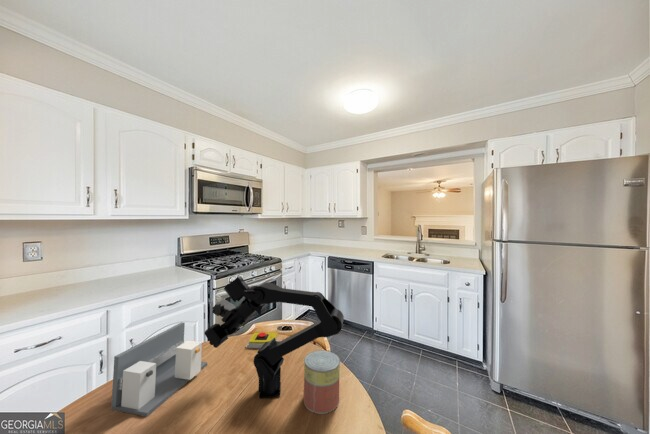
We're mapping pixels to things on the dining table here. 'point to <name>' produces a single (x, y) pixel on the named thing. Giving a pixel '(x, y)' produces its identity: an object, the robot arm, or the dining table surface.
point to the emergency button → (260, 339)
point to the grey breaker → (138, 385)
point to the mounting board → (164, 372)
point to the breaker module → (188, 360)
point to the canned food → (321, 381)
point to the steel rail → (159, 359)
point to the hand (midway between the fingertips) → (213, 341)
